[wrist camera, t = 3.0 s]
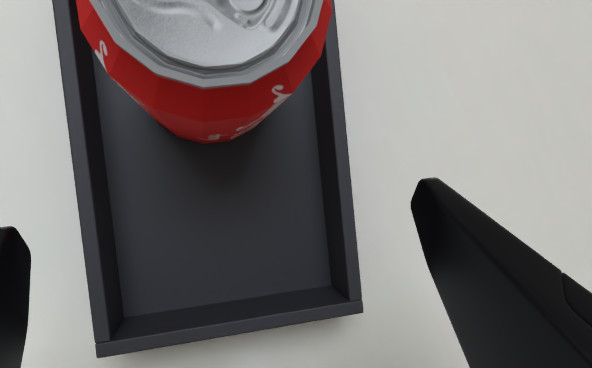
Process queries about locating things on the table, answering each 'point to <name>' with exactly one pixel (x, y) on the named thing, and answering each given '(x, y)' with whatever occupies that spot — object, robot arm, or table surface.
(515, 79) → the table surface
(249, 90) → the soda can
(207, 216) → the dark grey tray
